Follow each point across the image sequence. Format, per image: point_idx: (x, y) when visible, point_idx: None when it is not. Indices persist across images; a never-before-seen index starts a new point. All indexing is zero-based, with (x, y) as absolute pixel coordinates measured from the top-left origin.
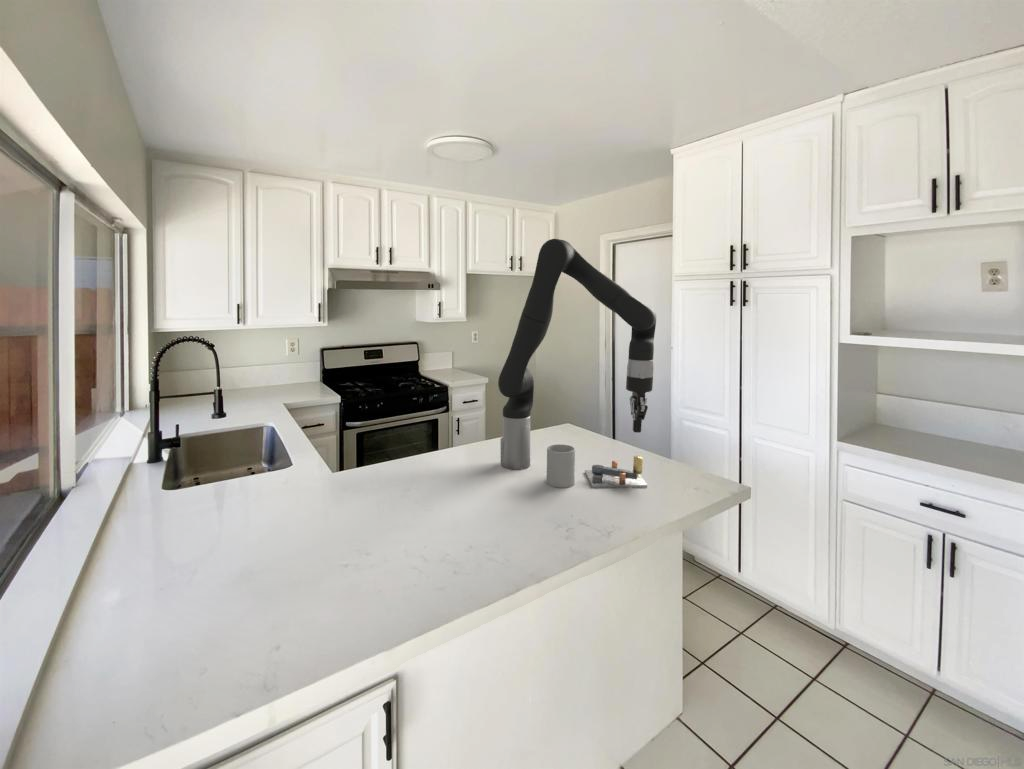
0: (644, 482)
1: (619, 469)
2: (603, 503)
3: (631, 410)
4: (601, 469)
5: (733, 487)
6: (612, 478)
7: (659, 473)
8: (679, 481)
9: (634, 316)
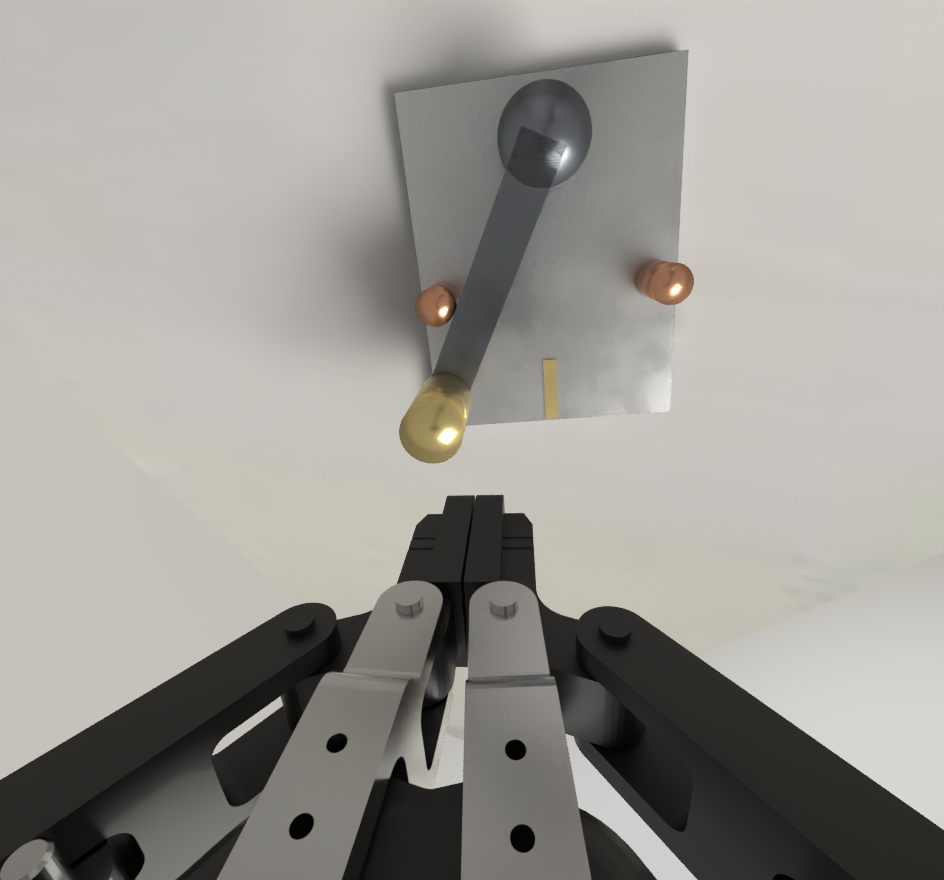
0: (470, 420)
1: (494, 294)
2: (183, 155)
3: (658, 673)
4: (501, 160)
5: None
6: None
7: (641, 519)
8: None
9: None
